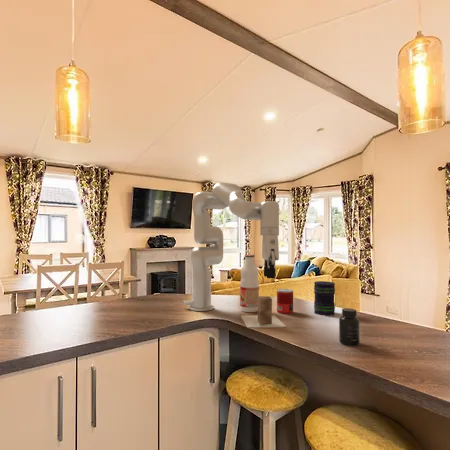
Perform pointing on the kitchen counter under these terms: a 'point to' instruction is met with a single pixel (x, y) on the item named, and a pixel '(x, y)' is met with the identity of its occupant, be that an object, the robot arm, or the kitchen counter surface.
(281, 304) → the canned food
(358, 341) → the supplement bottle
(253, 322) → the mat
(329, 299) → the storage jar
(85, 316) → the kitchen counter surface
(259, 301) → the block
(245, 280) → the fruit juice
